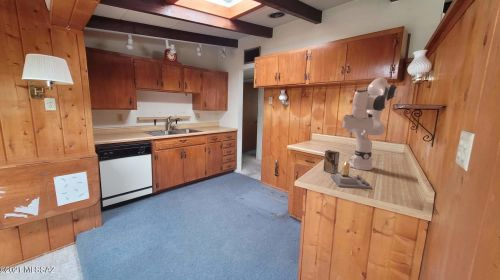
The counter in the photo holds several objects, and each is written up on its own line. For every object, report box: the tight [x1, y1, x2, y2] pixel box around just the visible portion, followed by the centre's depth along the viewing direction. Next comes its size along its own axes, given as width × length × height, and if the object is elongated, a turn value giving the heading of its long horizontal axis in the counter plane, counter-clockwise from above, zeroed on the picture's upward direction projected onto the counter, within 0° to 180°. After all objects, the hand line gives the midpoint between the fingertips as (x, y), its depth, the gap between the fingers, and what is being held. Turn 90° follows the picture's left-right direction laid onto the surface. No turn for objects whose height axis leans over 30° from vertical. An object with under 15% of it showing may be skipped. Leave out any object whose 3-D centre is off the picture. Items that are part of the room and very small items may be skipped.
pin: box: [342, 162, 350, 177], centre depth 139 cm, size 3×3×12 cm
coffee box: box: [323, 149, 340, 175], centre depth 160 cm, size 9×6×16 cm
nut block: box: [330, 172, 373, 190], centre depth 140 cm, size 18×20×4 cm
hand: (356, 135), depth 142 cm, fingers open, 8 cm apart
